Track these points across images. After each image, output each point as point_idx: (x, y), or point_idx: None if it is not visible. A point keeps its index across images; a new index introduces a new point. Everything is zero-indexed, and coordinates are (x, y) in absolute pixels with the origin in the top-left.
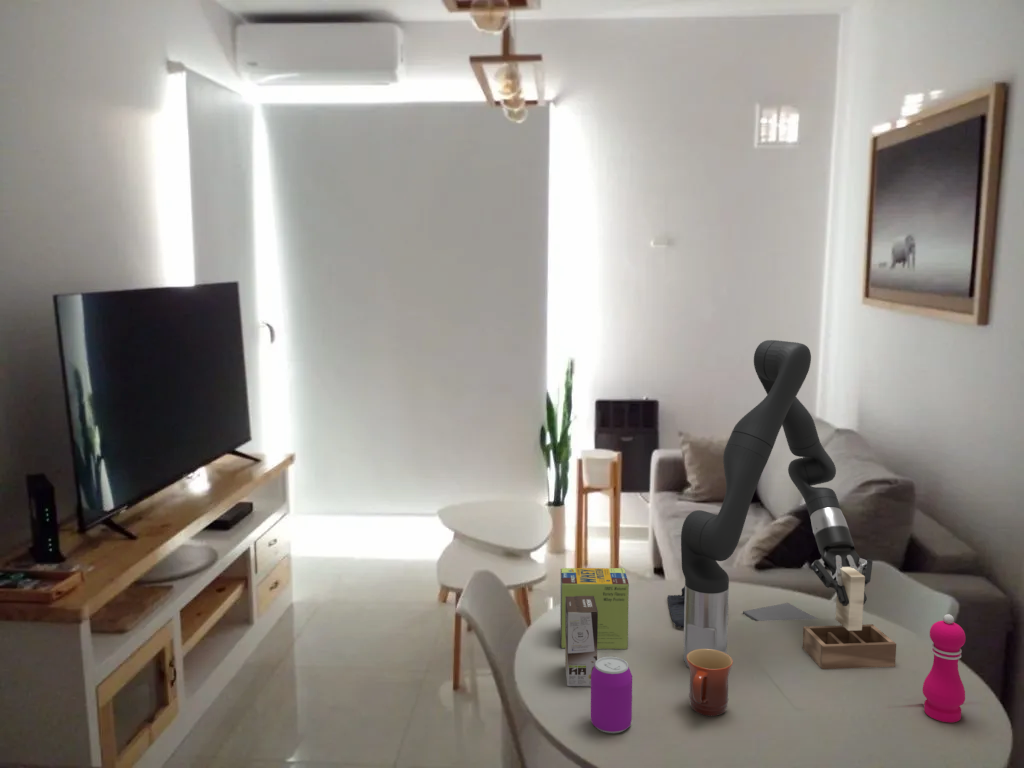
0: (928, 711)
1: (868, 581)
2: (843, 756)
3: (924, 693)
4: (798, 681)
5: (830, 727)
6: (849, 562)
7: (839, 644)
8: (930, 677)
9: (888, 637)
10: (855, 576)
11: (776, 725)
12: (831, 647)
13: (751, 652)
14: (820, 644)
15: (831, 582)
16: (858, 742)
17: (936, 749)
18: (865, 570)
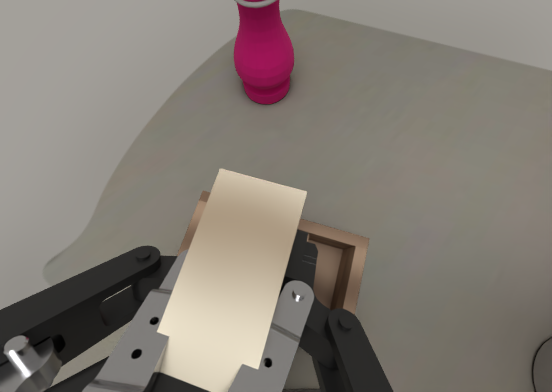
0: (289, 82)
1: (148, 248)
2: (466, 54)
3: (291, 69)
4: (415, 232)
5: (444, 106)
6: (140, 388)
7: (324, 233)
8: (285, 41)
9: (190, 222)
10: (276, 188)
11: (524, 133)
12: (348, 233)
13: (449, 385)
14: (366, 252)
15: (349, 312)
16: (427, 70)
17: (341, 35)
18: (83, 304)
